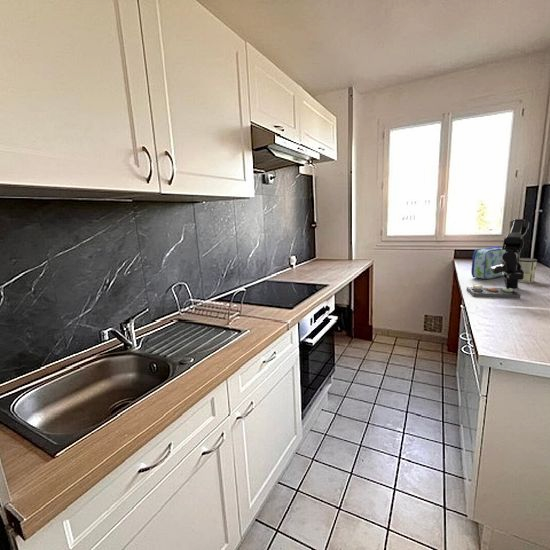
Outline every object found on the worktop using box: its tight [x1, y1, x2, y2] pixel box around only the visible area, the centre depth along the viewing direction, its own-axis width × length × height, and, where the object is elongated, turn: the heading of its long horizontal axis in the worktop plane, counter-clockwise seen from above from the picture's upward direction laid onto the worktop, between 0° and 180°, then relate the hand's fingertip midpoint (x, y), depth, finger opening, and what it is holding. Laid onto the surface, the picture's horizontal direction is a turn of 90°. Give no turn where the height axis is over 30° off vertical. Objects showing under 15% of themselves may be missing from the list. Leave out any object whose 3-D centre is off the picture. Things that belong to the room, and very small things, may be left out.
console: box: [466, 286, 522, 300], centre depth 168 cm, size 14×21×3 cm, turn 72°
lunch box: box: [471, 245, 506, 280], centre depth 210 cm, size 26×11×21 cm, turn 118°
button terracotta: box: [486, 286, 498, 292], centre depth 168 cm, size 4×4×3 cm
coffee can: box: [518, 257, 538, 283], centre depth 198 cm, size 10×10×14 cm
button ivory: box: [472, 284, 483, 291], centre depth 170 cm, size 4×4×3 cm
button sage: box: [502, 287, 514, 292], centre depth 166 cm, size 4×4×3 cm
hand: (507, 288), depth 166 cm, fingers closed, pressing on button sage
